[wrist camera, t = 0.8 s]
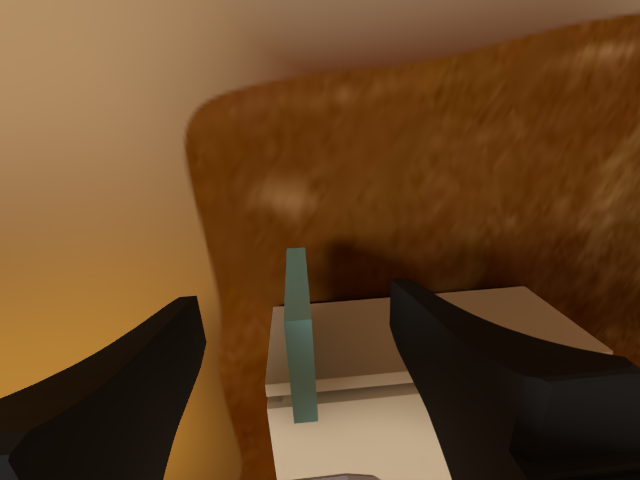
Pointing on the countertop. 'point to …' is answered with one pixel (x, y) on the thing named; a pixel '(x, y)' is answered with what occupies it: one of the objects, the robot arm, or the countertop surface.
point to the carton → (358, 436)
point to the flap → (379, 337)
